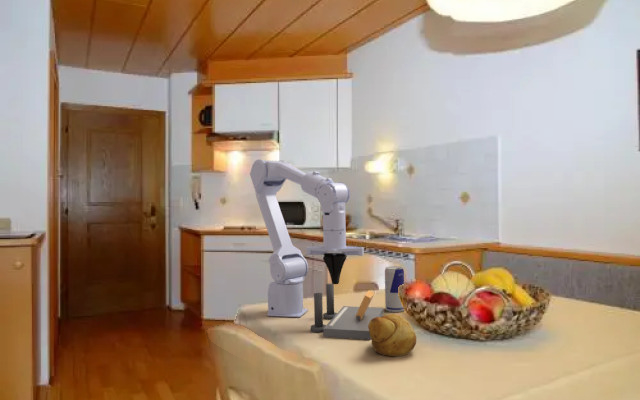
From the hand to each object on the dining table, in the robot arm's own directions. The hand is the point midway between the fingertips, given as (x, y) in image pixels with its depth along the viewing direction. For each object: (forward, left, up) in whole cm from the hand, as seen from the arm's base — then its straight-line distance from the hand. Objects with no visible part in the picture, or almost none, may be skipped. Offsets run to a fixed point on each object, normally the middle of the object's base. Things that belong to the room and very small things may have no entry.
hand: (335, 283), depth 121 cm
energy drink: (+13, +17, -11) cm, 24 cm away
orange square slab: (+6, 0, -8) cm, 10 cm away
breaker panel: (+5, 0, -10) cm, 12 cm away
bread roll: (+16, -16, -11) cm, 25 cm away
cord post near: (-3, -6, -10) cm, 12 cm away
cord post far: (-3, +6, -10) cm, 12 cm away
